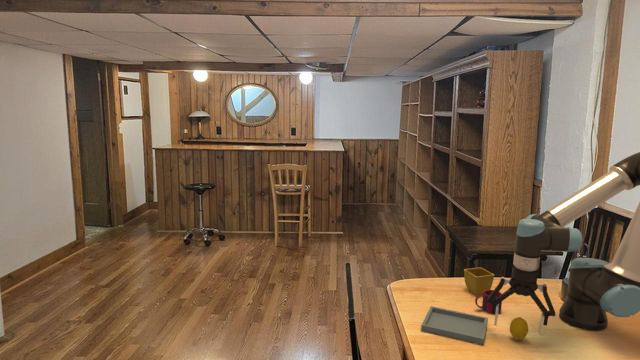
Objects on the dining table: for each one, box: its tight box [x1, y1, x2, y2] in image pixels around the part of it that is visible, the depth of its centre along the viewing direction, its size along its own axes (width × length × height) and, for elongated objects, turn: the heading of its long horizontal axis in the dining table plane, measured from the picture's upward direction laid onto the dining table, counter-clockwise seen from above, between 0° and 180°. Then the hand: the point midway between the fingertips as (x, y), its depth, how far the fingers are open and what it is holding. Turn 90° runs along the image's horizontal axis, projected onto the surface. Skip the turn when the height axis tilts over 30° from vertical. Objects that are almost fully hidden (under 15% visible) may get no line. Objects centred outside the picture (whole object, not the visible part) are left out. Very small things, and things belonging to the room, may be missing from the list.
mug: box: [474, 289, 503, 315], centre depth 169 cm, size 7×10×7 cm
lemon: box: [509, 316, 529, 341], centre depth 148 cm, size 6×6×8 cm
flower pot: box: [463, 267, 495, 296], centre depth 184 cm, size 9×9×9 cm
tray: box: [420, 305, 489, 346], centre depth 156 cm, size 20×16×2 cm
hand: (517, 328), depth 148 cm, fingers open, 13 cm apart
